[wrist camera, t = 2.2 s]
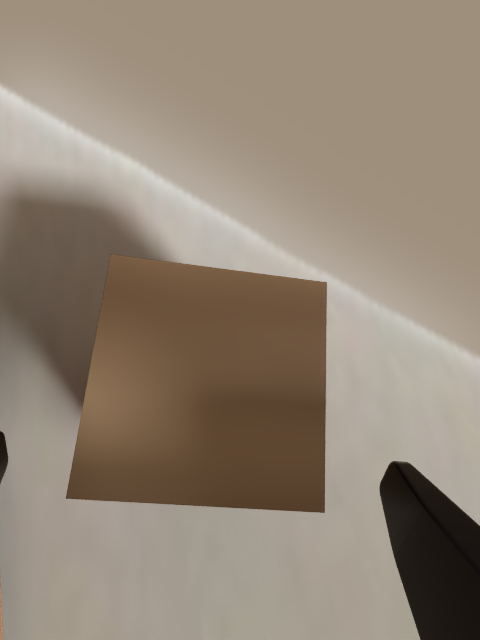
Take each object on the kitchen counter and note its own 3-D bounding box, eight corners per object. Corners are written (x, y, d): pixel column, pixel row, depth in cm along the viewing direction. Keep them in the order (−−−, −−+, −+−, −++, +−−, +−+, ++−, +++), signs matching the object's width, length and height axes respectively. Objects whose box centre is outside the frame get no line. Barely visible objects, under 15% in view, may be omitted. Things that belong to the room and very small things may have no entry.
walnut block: (247, 473, 18) (324, 512, 9) (124, 465, 18) (66, 498, 8) (254, 356, 20) (326, 282, 10) (142, 344, 19) (111, 254, 10)
